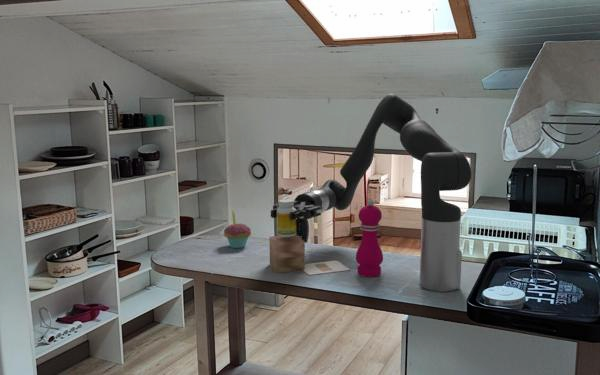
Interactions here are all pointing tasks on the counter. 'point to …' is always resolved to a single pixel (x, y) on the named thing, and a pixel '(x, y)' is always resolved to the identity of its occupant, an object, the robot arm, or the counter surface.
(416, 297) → the counter surface
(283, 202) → the supplement bottle
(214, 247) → the counter surface
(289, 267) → the tan cubic block
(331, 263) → the page
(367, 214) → the pepper mill
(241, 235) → the cupcake
